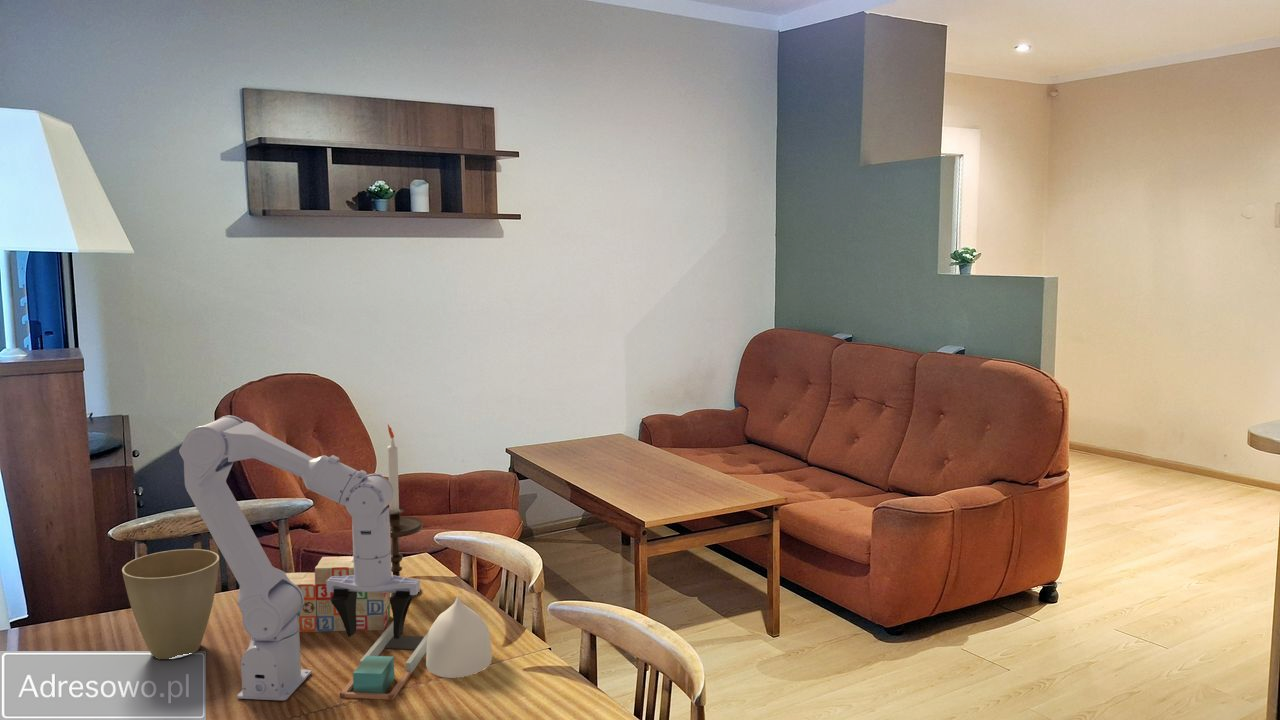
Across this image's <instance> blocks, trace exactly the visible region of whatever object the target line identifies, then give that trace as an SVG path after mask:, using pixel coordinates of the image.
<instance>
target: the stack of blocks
mask: <svg viewBox="0 0 1280 720" xmlns="http://www.w3.org/2000/svg"><path fill="white" fill-rule="evenodd" d="M285 574H286V575H287V577H288V579H289V580H290V581H291V582H293V583H294V584H295V585H297V586H298V587H299V588H300V589H301V591H302V593H303V596H304V604H303V607H302V609H301V611H300V612H299V613H298V614H297V620H298V623H299V633H300V632H301V633H312V632H316V633H317V632H344V631H345V632H346V630H345V626H344V624H343V621H342V619H341V617H340V615H339V613H338V611H337V610H336V608H335V607H334V605H333V604H332V603H331V597H332V596H333V594H334V592H327V585H326V581H327V580H328V579H329V578H330V577H331V576H349V575H354V561H353V555H352V556H351V555H349V556H348V555H347V556H345V555H344V556H341V555H340V556H322V557H321V558H320V560H319V561H318V563H317V565H316V566H315V567H314V572H285ZM390 618H391V604H390V593H384V592H357V598H356V623H357V627H356V632H357V631H361V632H362V631H385V630H386V626H387V625H388V622H389V619H390Z"/></svg>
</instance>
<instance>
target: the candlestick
mask: <svg viewBox="0 0 1280 720" xmlns="http://www.w3.org/2000/svg"><path fill="white" fill-rule="evenodd" d="M387 427H388V428H387V429H388V434H389V436H390V442H389V445H387V467H388V468H387V469H388V470H387V472H388V476H387V477H388V481H389V482H390V483H391V485H392V488H393V498H392V500H391V502H390V503H389V505H388V506H389V507H388V508H389V522H390V539H391V571H392V575H395V576H400V575H401V573H400V572H401V571H403V566H401V564H400V563H401V562H402V560H403V559H404V556H403V554H402V553H400V543H399V538H402V537H408V536H412V535H414V534H417V533H419V532H421V531H422V529H423V521H422V519H420V518H417V517H414V516H408V515H405V516H404V515H401V514H404V513H405V510H404V509H403V508H402V509H401V508H400V499H399V498H400V496H399V495H400V493H399V492H400V491H399V490H400V489H399V463H398V461H399V459H398V457H399V456H398V445H396V444H395V440H394V438H395V434H394V432H393V431H392V427H390V424H389V423H388V424H387ZM400 577H401V576H400ZM395 595H396V593H390V600H391V599H392V598H393V596H395ZM414 596H415V595H414ZM415 597H416V596H415Z"/></svg>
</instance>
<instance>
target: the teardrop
mask: <svg viewBox="0 0 1280 720" xmlns="http://www.w3.org/2000/svg"><path fill="white" fill-rule="evenodd" d="M429 630H430V631H429ZM429 630H428V631H429V634H428V637H427V652H426V653H425V655H426V656H425V657H426V658H425V667H426V668H427V671H428V672H429V673H430V674H433V675H435V676H438V677H439V678H448V679H457V678H456V677H458V678H459V677H462V678H465V677H464V676H466V677H469V676H468V675H471V676H473V675H472V674H475V673H477V672H479V671H481V670H483V669H484V668H487V667H488V666H489V664H490V663H491V664H492V662H491V660H492V661H493V654H492V645H491V644H492V643H491V642H492V641H491V633H490V630H489V627H488V625H487V624H486V623H485V621H484V620H483V618H482V617H481V616H480V615H479V614H478V613H477V612H475V611H474V610H473V609H471V608H470V607H469V606H467V605H465V604H464V603H463V602H462V601H461V598H460V597H459V595H457V597H456V598H455V600H454V602H453V604H452V605H450V606H449V607H448V608H447V609H446V610H444V611H443V612H441V613H440V614H439V615H438V617H437V618H436V619H435V621H434V622H433V623H432V624H431V626H430V629H429ZM489 667H490V666H489ZM489 667H488V668H489ZM488 668H487V669H488ZM459 679H460V678H459Z"/></svg>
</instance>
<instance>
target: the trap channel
mask: <svg viewBox="0 0 1280 720" xmlns="http://www.w3.org/2000/svg"><path fill="white" fill-rule="evenodd" d="M393 623H394V622H393V621H391V623H390V624H389V625H388V626H387V628H385V629H384V630H383V633H382V634H381V635H380V636H379V637H378V638H377V639H376V640H375V642H374V643H373V645H371V647H370V648H369V649H368V651H366V653H365V654H364V655H363V656H362V658H360V659H359V665H360V664H361V662H362V661H363V660H364V659H365V657H366V656H380V654H381V653H382V652H383V650H384V649H387V650H388V649H390V650H406V651H407V650H408V651H409V650H412V651H413V652H412V654H411V655H410V656H409V658H408V659H407V660H406V661H405V671H404V673H403V674H402V676H401V677H400V679H399V680H398V681H397V683H396V684H395V685H394V687H393V688H392V690H391V691H390V693H385V694H379V693H357V692H354V691H352V690H353V689H354V686H353V677H352V678H351V679H350V680H349V682H348V683H347V684H346V685H345V686H344V687H343V689H342V690H341V692H340V693H339V698H346V699H347V698H349V699H350V698H351V699H367V700H368V699H372V700H388V701H389V700H390V701H392V700H393V701H394V699H395V698H396V696H397V695H398V694H399V693H400V690H401V689H402V688H403V686H404V685H405V684H406V682H407V681H408V679H409V678H410V676H411V675H412V673H413V672H414V671H415V669H416V668H417V666H418V665H419V663H420V662H421V660H422V659H423V658H424V657H425V655H426V652H427V637H428V634H429V631H430V629H429V630H428V632H427V633H426V634H425V636H422V635H420V636H419V635H401V636H400V638H399V639H394V633H393Z"/></svg>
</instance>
